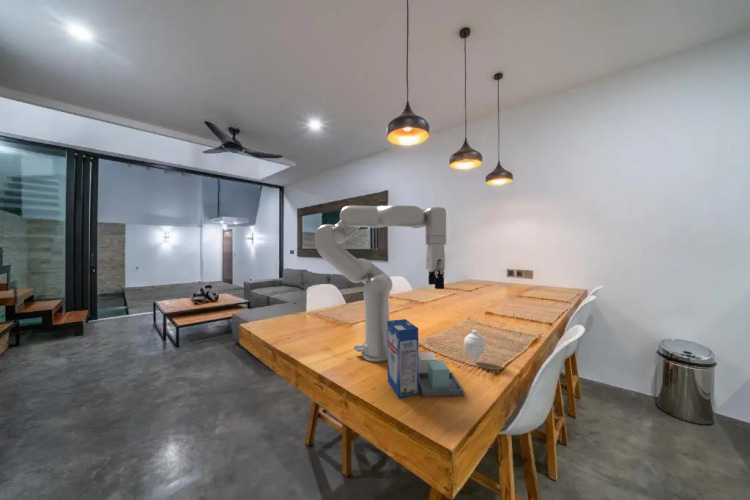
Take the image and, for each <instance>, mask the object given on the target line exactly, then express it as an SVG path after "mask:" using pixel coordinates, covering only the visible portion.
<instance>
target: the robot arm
mask: <svg viewBox="0 0 750 500" xmlns="http://www.w3.org/2000/svg"><path fill="white" fill-rule="evenodd" d="M384 227H385V228H386V227H403V228H406V227H408V228H409V227H410V228H413V229H421V228H425V246H427V247H426V258H425V259H426V260H425V262H426V263H425V268H426V270H428V285H430V286H431V285H432V286H433V285H434V289H435V290H444V289H445V269H446V257H445V256H446V255H445V254H446V253H445V251H446V249H445V246H446V245H447V211H446V209H445V208H444V207H441V206H440V207H439V206H436V207H435V206H433V207H427V209H423V208H420V206H416V205H347V206H344V207H342V209H341V210H340V212H339V221H338V222H337V223H335V224H330V223H327V224H322V225H321V226H319V227H318V228H317V229H316V231H315V234H314V240H313V241H314V246H315V249H316V251H317V253H318V255H320V257H321V258H322V259H323V260H325V261H326V262H327V263H328V264H329V265H331V266H332V267H333V268H334V269H335V270H337V271H338V273H340V274H341V275H343V276H344V277H345V278H346V279H348V281H350V282H351V283H354V284H359V283H362V284H364V285H363V290H362V292H363V293H362V294H363V301H364V321H365V322H364V323H365V325H364V327H365V328H364V329H365V331H364V334H365V336H364V337H365V341H364V343H362V344H354V345H353V347H354V348H353V350H354V351H356V353H361V357H362V359H364V360H366V361H368V362H372V363H380V362H381V363H382V362H386V361H387V362H388V348H387V321H390V305H389V294H390V293H391V291H392V289H393V281H392V278H391V277H390V276H389V275H388V274H386V273H385V271H383V270H381V269H380V267H378V266H377V265H375V264H374V263H372V262H371V261H370V260H368V259H366V258H357V257H355V256H354V255H353V254H351V253H350V252H349V251H348V250H347V249H345V248H343V247H342V246H341V245H342V244H343V243H345V242H346V241H347V240H349V239H350V238H351V237H352V236H353V235H354V234H355V233H356V232H357V231H359V229H360V228H373V229H376V228H377V229H380V228H384Z"/></svg>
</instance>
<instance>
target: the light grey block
mask: <svg viewBox="0 0 750 500" xmlns="http://www.w3.org/2000/svg"><path fill="white" fill-rule="evenodd" d="M428 361H438V358H437V357H436V355H435V354H434V352H418V370H419V373H428Z"/></svg>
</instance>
